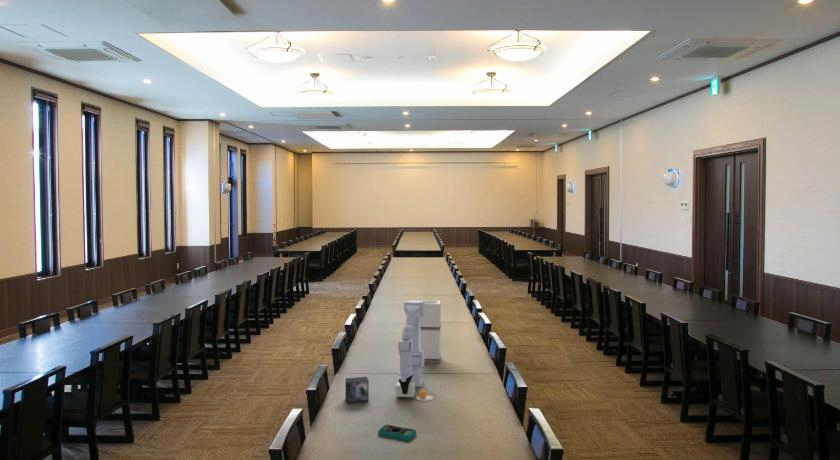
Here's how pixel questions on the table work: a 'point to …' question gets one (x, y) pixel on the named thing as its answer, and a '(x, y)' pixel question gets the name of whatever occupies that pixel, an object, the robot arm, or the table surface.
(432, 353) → the white rectangular tower
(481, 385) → the table surface
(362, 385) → the small box
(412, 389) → the pale green block
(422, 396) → the ball
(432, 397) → the white round disc
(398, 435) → the digital multimeter
